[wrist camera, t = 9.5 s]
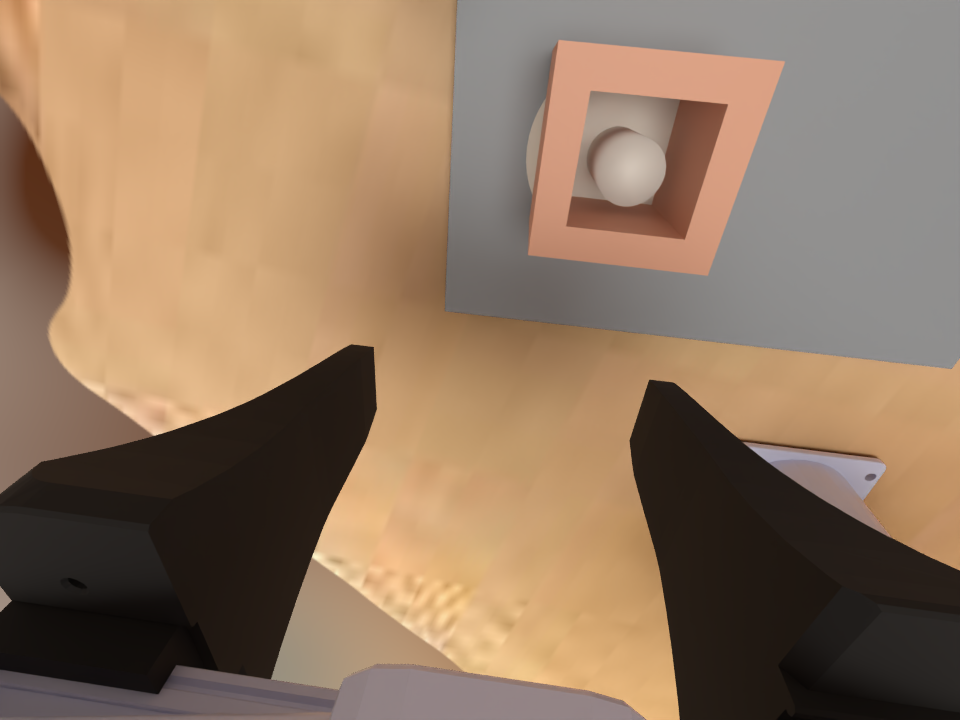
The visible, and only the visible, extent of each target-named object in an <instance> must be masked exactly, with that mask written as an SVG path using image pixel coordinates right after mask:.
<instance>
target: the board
mask: <svg viewBox="0 0 960 720" xmlns="http://www.w3.org/2000/svg"><path fill="white" fill-rule="evenodd" d="M558 40H565V41H575V42H586V43H596V44H607V45H617V46H628V47H639V48H649V49H660V50H670V51H681V52H691V53H702V54H712V55H723V56H733V57H744V58H754V59H765V60H776V61H785V64H784V66H783V69H782V72H781V75H780V77H779V80H778V83H777V86H776V88H775V91H774V94H773V97H772V99H771V102H770V105H769V108H768V111H767V113H766V116H765V119H764V122H763V124H762V127H761V130H760V133H759V135H758V138H757V141H756V144H755V146H754V149H753V152H752V155H751V158H750V160H749V163H748V166H747V169H746V171H745V174H744V177H743V180H742V182H741V185H740V188H739V191H738V193H737V196H736V199H735V202H734V205H733V207H732V210H731V213H730V216H729V218H728V221H727V224H726V227H725V229H724V232H723V235H722V238H721V240H720V243H719V246H718V249H717V251H716V254H715V257H714V260H713V263H712V265H711V268H710V271H709V274H708V276H706V275H697V274H688V273H680V272H671V271H662V270H653V269H645V268H636V267H627V266H619V265H610V264H601V263H592V262H584V261H575V260H566V259H558V258H549V257H540V256H531V255H528V239H529V216H530V209H531V202H532V195H533V188H534V180H535V173H536V166H537V159H538V151H539V144H540V137H541V130H542V123H543V115H544V108H545V101H546V94H547V86H548V79H549V72H550V65H551V58H552V50H553V49H554V47H555V45H556V44H557V42H558ZM679 103H680V99H670V98H660V97H650V96H640V95H630V94H620V93H610V92H600V91H591V92H590V97H589V103H588V108H587V114H586V119H585V125H584V130H583V136H582V141H581V147H580V152H579V158H578V163H577V169H576V174H575V180H574V185H573V191H572V196H575V197H584V198H593V199H602V200H608V201H610V202H611V203H613V204H615V205H618V206H626V207H628V206H635V205H638V204H648V205H652V202H653V198H654V195H655V193H656V192H657V190H658V189H659V187H660V186H661V184H662V182H663V179H664V176H665V172H666V160H665V154H666V150H667V147H668V143H669V139H670V136H671V132H672V128H673V125H674V121H675V117H676V114H677V110H678V106H679ZM445 311H448V312H456V313H465V314H474V315H483V316H492V317H500V318H509V319H518V320H527V321H535V322H544V323H553V324H562V325H571V326H579V327H588V328H597V329H606V330H614V331H623V332H632V333H641V334H650V335H658V336H667V337H676V338H685V339H693V340H702V341H711V342H720V343H729V344H737V345H746V346H755V347H764V348H772V349H781V350H790V351H799V352H808V353H816V354H825V355H834V356H843V357H851V358H860V359H869V360H878V361H887V362H895V363H904V364H913V365H922V366H930V367H939V368H948V369H952V368H953V367H954V365H955V364H956V362H957V361H958V360H959V358H960V0H457V22H456V46H455V71H454V96H453V120H452V145H451V169H450V194H449V219H448V243H447V268H446V293H445Z"/></svg>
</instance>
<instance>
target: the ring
mask: <svg viewBox="0 0 960 720" xmlns="http://www.w3.org/2000/svg"><path fill="white" fill-rule="evenodd" d="M784 64H785V61H776V60H765V59H754V58H744V57H733V56H723V55H712V54H702V53H691V52H681V51H670V50H660V49H649V48H639V47H628V46H617V45H607V44H596V43H586V42H575V41H565V40H558V42H557V44H556V45H555V47H554V49H553V50H552V58H551V65H550V72H549V79H548V86H547V94H546V101H545V108H544V115H543V123H542V130H541V137H540V144H539V151H538V159H537V166H536V173H535V180H534V188H533V195H532V202H531V209H530V216H529V239H528V255H531V256H540V257H549V258H558V259H566V260H575V261H584V262H592V263H601V264H610V265H619V266H627V267H636V268H645V269H653V270H662V271H671V272H680V273H688V274H697V275H706V276H708V274H709V271H710V268H711V265H712V263H713V260H714V257H715V254H716V251H717V249H718V246H719V243H720V240H721V238H722V235H723V232H724V229H725V227H726V224H727V221H728V218H729V216H730V213H731V210H732V207H733V205H734V202H735V199H736V196H737V193H738V191H739V188H740V185H741V182H742V180H743V177H744V174H745V171H746V169H747V166H748V163H749V160H750V158H751V155H752V152H753V149H754V146H755V144H756V141H757V138H758V135H759V133H760V130H761V127H762V124H763V122H764V119H765V116H766V113H767V111H768V108H769V105H770V102H771V99H772V97H773V94H774V91H775V88H776V86H777V83H778V80H779V77H780V75H781V72H782V69H783V66H784ZM591 91H600V92H610V93H620V94H630V95H640V96H650V97H660V98H670V99H680V103H679V106H678V110H677V114H676V117H675V121H674V125H673V128H672V132H671V136H670V139H669V143H668V147H667V150H666V154H665V160H666V172H665V176H664V179H663V182H662V184H661V186H660V187H659V189H658V190H657V192H656V193H655V195H654V198H653V202H652V205H648V204H638V205H635V206H628V207H626V206H618V205H615V204H613V203H611V202H610V201H608V200H602V199H593V198H584V197H575V196H572V191H573V185H574V180H575V174H576V169H577V163H578V158H579V152H580V147H581V141H582V136H583V130H584V125H585V119H586V114H587V108H588V103H589V97H590V92H591Z"/></svg>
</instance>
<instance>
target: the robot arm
mask: <svg viewBox="0 0 960 720" xmlns="http://www.w3.org/2000/svg"><path fill="white" fill-rule="evenodd" d="M376 410H377V404H376V384H375V364H374V347H368V346H360V345H349V346H347V347H345V348H343V349H342V350H340V351H338V352H337V353H335V354H333V355H332V356H330V357H328V358H327V359H325V360H323V361H322V362H320V363H318V364H317V365H315V366H313V367H312V368H310V369H308V370H307V371H305V372H303V373H302V374H300V375H298V376H297V377H295V378H293V379H291V380H289V381H287V382H285V383H284V384H282V385H280V386H278V387H276V388H274V389H272V390H271V391H269V392H267V393H265V394H263V395H261V396H259V397H257V398H255V399H253V400H251V401H248V402H246V403H244V404H242V405H239V406H237V407H235V408H232V409H230V410H228V411H225V412H223V413H220V414H218V415H215V416H213V417H210V418H207V419H204V420H201V421H198V422H196V423H193V424H190V425H187V426H184V427H181V428H178V429H176V430H172V431H169V432H166V433H163V434H159V435H156V436H152V437H149V438H146V439H142V440H138V441H134V442H130V443H127V444H123V445H119V446H115V447H111V448H106V449H102V450H97V451H93V452H88V453H83V454H78V455H73V456H69V457H64V458H59V459H54V460H49V461H44V462H41V463H39V464H38V465H37V466H35V467H34V468H33V469H31V470H30V471H29V472H28V473H26V474H25V475H24V476H22V477H21V478H20V479H19V480H18V481H16V482H15V483H13V484H12V485H11V486H10V487H8V488H7V489H6V490H5V491H3V492H2V493H1V494H0V586H1V588H2V589H3V590H4V591H5V593H6V594H7V595H8V596H9V598H10V599H11V600H12V601H11V602H10V603H9V604H8V605H7V606H6V607H5V608H4V609H3V610H2V611H1V612H0V720H646V719H645V718H644V717H643V716H641V715H640V714H639V713H638V712H636V711H635V710H634V709H633V708H631V707H630V706H629V705H628V704H626V703H625V702H624V701H622V700H618V699H615V698H612V697H608V696H605V695H601V694H598V693H594V692H591V691H587V690H580V689H573V688H567V687H560V686H553V685H547V684H540V683H533V682H527V681H520V680H513V679H507V678H500V677H493V676H487V675H480V674H473V673H467V672H460V671H453V670H446V669H440V668H433V667H426V666H420V665H413V664H376V665H373V666H370V667H368V668H365V669H363V670H360V671H357V672H355V673H353V674H351V675H349V676H347V677H346V678H344V680H343V682H342V684H341V687H340V689H339V690H336V689H329V688H323V687H316V686H309V685H303V684H297V683H290V682H284V681H277V680H271V677H272V674H273V671H274V667H275V664H276V661H277V658H278V655H279V651H280V648H281V645H282V642H283V639H284V636H285V633H286V630H287V627H288V624H289V621H290V618H291V615H292V612H293V609H294V606H295V603H296V600H297V597H298V594H299V591H300V588H301V586H302V582H303V580H304V577H305V575H306V572H307V569H308V566H309V563H310V560H311V558H312V555H313V553H314V550H315V547H316V545H317V542H318V540H319V537H320V534H321V532H322V529H323V526H324V524H325V522H326V520H327V517H328V515H329V513H330V511H331V509H332V507H333V505H334V503H335V501H336V499H337V497H338V495H339V493H340V491H341V489H342V487H343V485H344V483H345V481H346V479H347V477H348V475H349V473H350V472H351V470H352V468H353V466H354V464H355V462H356V460H357V458H358V456H359V454H360V452H361V450H362V448H363V446H364V444H365V442H366V439H367V436H368V434H369V431H370V428H371V425H372V422H373V419H374V416H375V413H376ZM630 448H631V457H632V465H633V472H634V477H635V481H636V485H637V488H638V492H639V496H640V499H641V503H642V506H643V510H644V513H645V517H646V520H647V524H648V528H649V531H650V535H651V538H652V542H653V545H654V549H655V552H656V557H657V561H658V565H659V569H660V575H661V581H662V587H663V593H664V599H665V605H666V611H667V618H668V625H669V632H670V639H671V646H672V654H673V662H674V670H675V679H676V687H677V696H678V705H679V716H680V720H960V571H959V570H957V569H955V568H952V567H950V566H948V565H946V564H944V563H941V562H939V561H937V560H935V559H932V558H930V557H928V556H926V555H924V554H922V553H920V552H918V551H916V550H914V549H912V548H910V547H908V546H906V545H904V544H902V543H900V542H898V541H896V540H894V539H892V537H891V536H890V535H889V534H888V532H887V531H886V530H885V528H884V527H883V526H882V525H881V523H880V522H879V521H878V520H877V518H876V517H875V516H874V514H873V513H872V512H871V511H870V509H869V508H868V507H867V506H866V504H865V503H864V502H863V500H864V499H865V497H866V496H867V495H868V493H869V492H870V491H871V489H872V488H873V486H874V485H875V484H876V482H877V481H878V480H879V478H880V477H881V476H882V474H883V473H884V472H885V470H886V465H885V464H884V463H883V462H882V461H881V460H880V459H877V458H870V457H862V456H854V455H845V454H837V453H829V452H821V451H813V450H805V449H797V448H789V447H781V446H772V445H764V444H756V443H748V442H742V441H741V440H739V439H738V438H737V437H736V436H735V435H733V434H732V433H731V432H730V431H729V430H727V429H726V428H725V427H724V426H723V425H722V424H721V423H719V422H718V421H717V420H716V419H715V418H714V417H713V416H712V415H710V414H709V413H708V412H707V411H706V410H705V409H704V408H703V407H702V406H700V405H699V404H698V403H697V402H696V401H695V400H694V399H693V398H691V397H690V396H689V395H688V394H687V393H686V392H685V391H683V390H682V389H681V388H680V387H679V386H677V385H676V384H675V383H672V382H664V381H656V380H649V382H648V385H647V389H646V392H645V395H644V398H643V401H642V404H641V407H640V410H639V413H638V416H637V419H636V422H635V426H634V429H633V432H632V435H631V438H630Z"/></svg>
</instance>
